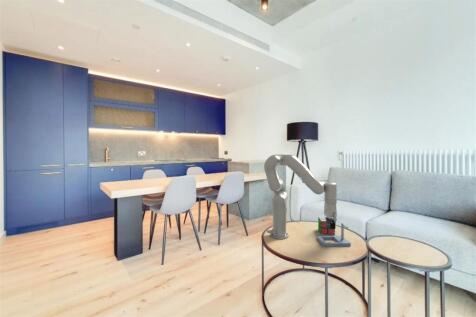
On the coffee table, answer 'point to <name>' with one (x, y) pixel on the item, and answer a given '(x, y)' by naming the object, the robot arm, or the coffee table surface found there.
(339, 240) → the grey frame with post
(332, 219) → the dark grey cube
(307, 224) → the coffee table surface
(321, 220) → the puzzle cube
